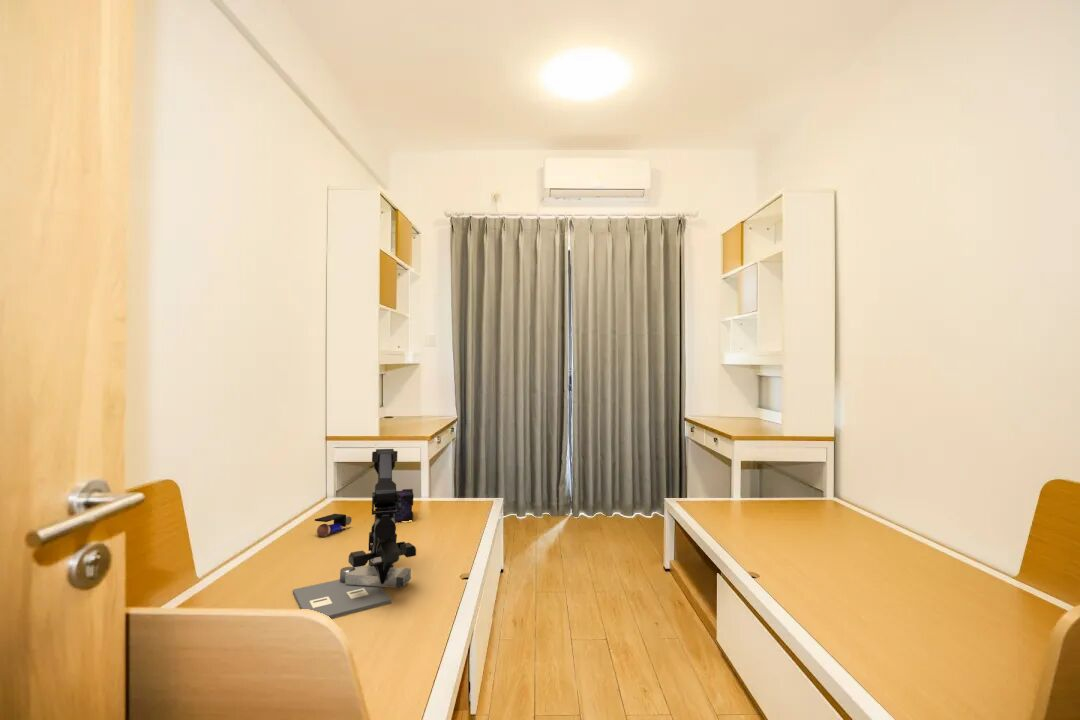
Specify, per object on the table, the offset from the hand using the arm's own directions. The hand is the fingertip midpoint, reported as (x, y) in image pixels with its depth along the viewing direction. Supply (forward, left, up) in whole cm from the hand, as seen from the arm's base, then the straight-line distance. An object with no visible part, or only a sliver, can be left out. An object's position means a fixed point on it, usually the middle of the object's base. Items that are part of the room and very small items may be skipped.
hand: (382, 583), depth 143 cm
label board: (+11, -3, -3) cm, 11 cm away
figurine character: (-1, -65, -3) cm, 65 cm away
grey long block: (0, -7, -2) cm, 7 cm away
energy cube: (-30, -69, -3) cm, 76 cm away
